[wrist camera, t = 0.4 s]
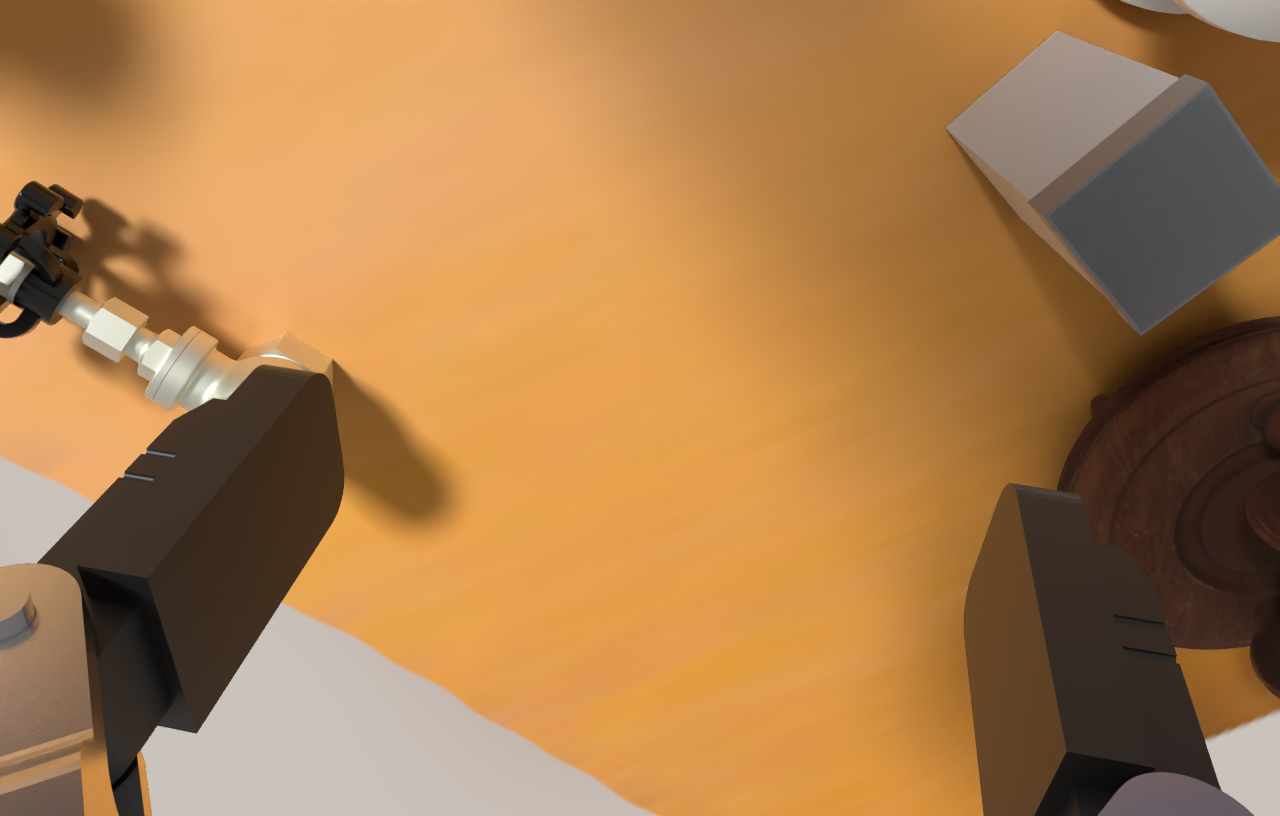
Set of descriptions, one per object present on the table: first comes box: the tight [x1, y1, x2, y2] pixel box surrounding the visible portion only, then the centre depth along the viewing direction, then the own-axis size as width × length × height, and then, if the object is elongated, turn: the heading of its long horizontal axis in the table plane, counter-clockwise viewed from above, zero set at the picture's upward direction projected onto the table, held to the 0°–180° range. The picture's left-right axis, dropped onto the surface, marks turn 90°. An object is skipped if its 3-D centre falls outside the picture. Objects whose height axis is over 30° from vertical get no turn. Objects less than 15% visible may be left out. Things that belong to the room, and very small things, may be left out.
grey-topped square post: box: [945, 30, 1280, 336], centre depth 30 cm, size 5×5×10 cm
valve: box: [0, 181, 334, 411], centre depth 35 cm, size 7×7×12 cm
